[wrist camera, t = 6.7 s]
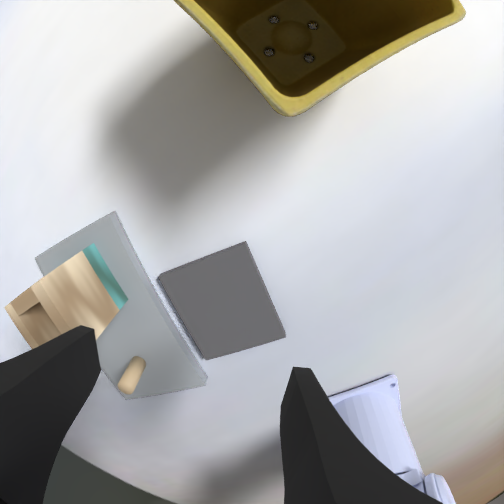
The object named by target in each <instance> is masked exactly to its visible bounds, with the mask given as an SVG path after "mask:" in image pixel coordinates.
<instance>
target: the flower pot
mask: <svg viewBox="0 0 504 504" xmlns="http://www.w3.org/2000/svg"><path fill="white" fill-rule="evenodd" d="M174 1H175V2H176V3H177V4H178V5H179V6H180V7H181V8H182V9H183V10H184V11H185V12H186V13H187V14H189V15H190V16H191V17H192V18H193V19H194V20H195V21H196V22H197V23H198V24H199V25H200V26H201V27H202V28H203V29H204V30H205V31H206V32H207V33H208V34H209V35H210V36H211V37H212V38H213V39H214V41H215V42H216V43H217V44H218V45H219V46H220V47H221V48H222V49H223V50H224V51H225V52H226V53H227V55H228V56H229V57H230V58H231V59H232V60H233V61H234V62H235V64H236V65H237V66H238V67H239V68H240V69H241V70H242V72H243V73H244V74H245V75H246V76H247V77H248V79H249V80H250V81H251V82H252V83H253V84H254V86H255V87H256V88H257V89H258V91H259V92H260V93H261V94H262V95H263V97H264V98H265V99H266V101H267V102H268V103H269V104H270V106H271V107H272V108H273V109H274V110H275V111H276V112H277V113H279V114H281V115H283V116H288V117H291V116H296V115H299V114H301V113H303V112H305V111H307V110H308V109H310V108H311V107H313V106H314V105H315V104H317V103H318V102H320V101H321V100H323V99H324V98H326V97H327V96H329V95H330V94H332V93H333V92H335V91H336V90H338V89H339V88H341V87H342V86H344V85H345V84H347V83H348V82H350V81H351V80H353V79H354V78H356V77H358V76H359V75H361V74H362V73H364V72H366V71H367V70H369V69H371V68H372V67H374V66H376V65H377V64H379V63H381V62H382V61H384V60H386V59H387V58H389V57H391V56H392V55H394V54H396V53H398V52H400V51H401V50H403V49H405V48H407V47H408V46H410V45H412V44H414V43H416V42H418V41H420V40H422V39H424V38H426V37H428V36H430V35H432V34H434V33H436V32H438V31H440V30H442V29H444V28H446V27H449V26H451V25H453V24H455V23H457V22H459V21H461V20H462V19H463V18H464V16H465V14H466V11H465V9H464V8H463V6H462V4H461V3H460V1H459V0H174ZM272 16H276V17H278V18H279V22H278V23H271V22H270V21H269V19H270V17H272ZM311 22H314V23H316V24H317V26H318V27H317V29H314V30H313V29H310V28H309V27H308V24H309V23H311ZM267 48H272V49H273V50H274V54H273V55H272V56H267V55H265V53H264V51H265V49H267ZM306 54H311V55H313V57H314V60H313V61H312V62H307V61H305V59H304V56H305V55H306Z"/></svg>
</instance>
